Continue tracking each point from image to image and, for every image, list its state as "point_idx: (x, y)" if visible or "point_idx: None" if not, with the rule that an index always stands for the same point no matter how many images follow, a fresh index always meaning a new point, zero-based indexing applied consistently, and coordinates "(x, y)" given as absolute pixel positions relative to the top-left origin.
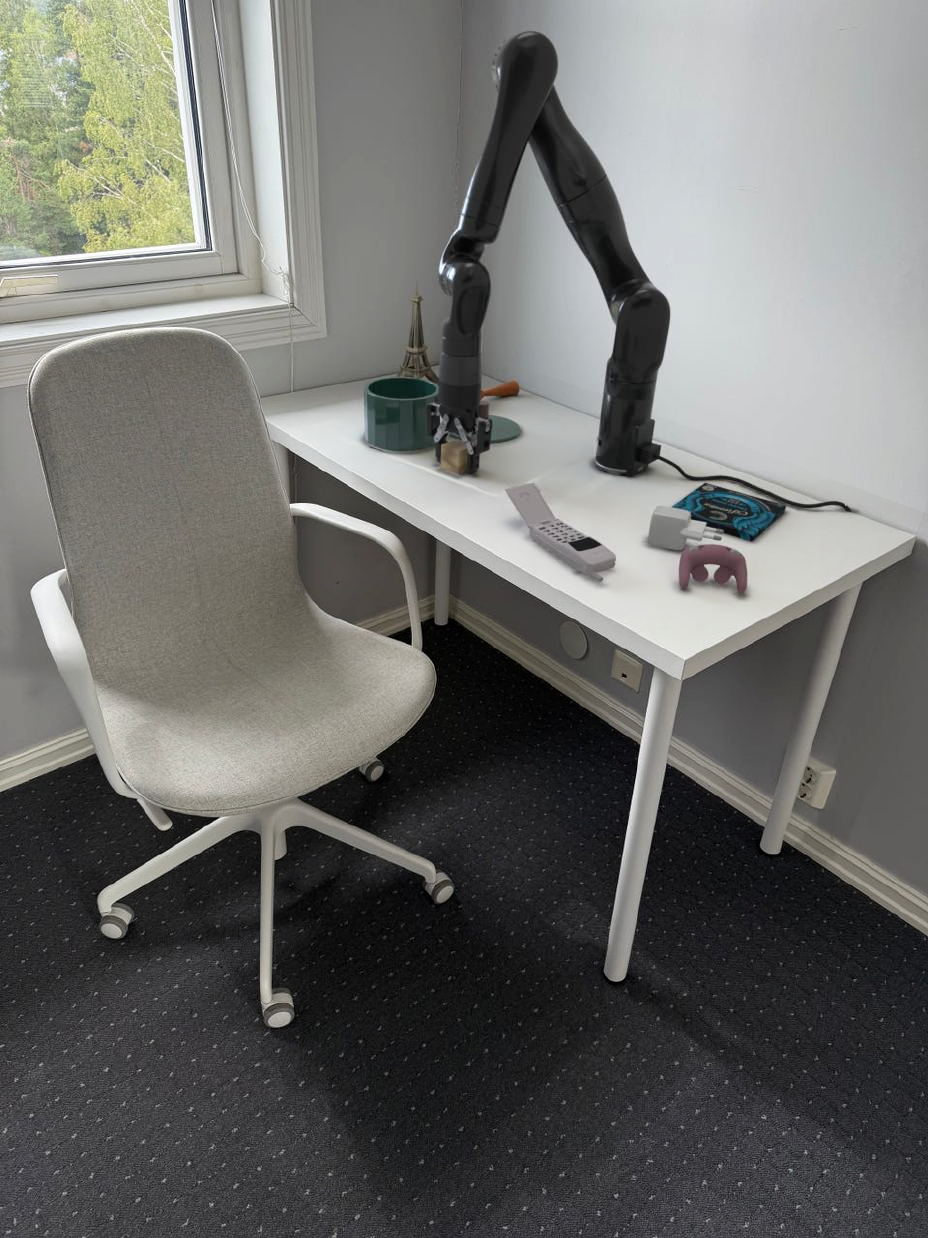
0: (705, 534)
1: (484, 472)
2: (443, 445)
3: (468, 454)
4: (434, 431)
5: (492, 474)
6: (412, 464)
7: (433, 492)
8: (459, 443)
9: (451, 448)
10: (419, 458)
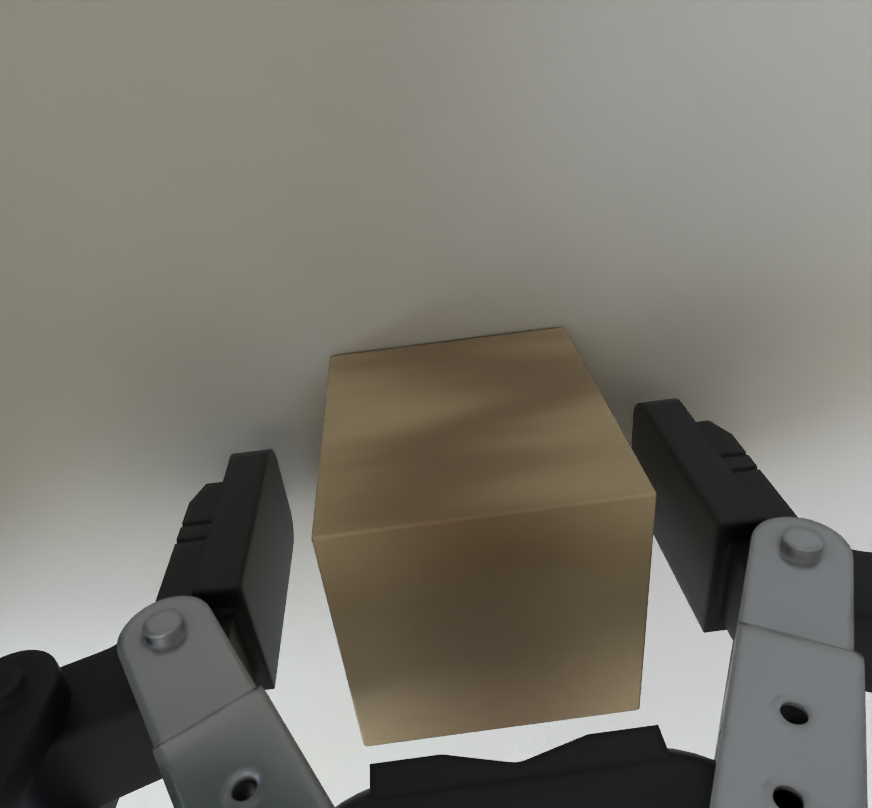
0: None
1: (665, 268)
2: (398, 739)
3: (716, 627)
4: (106, 798)
5: (757, 239)
6: (129, 615)
7: (617, 728)
8: (472, 602)
9: (523, 723)
10: (24, 516)
